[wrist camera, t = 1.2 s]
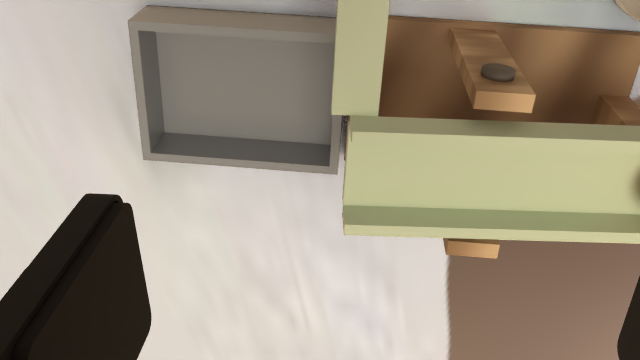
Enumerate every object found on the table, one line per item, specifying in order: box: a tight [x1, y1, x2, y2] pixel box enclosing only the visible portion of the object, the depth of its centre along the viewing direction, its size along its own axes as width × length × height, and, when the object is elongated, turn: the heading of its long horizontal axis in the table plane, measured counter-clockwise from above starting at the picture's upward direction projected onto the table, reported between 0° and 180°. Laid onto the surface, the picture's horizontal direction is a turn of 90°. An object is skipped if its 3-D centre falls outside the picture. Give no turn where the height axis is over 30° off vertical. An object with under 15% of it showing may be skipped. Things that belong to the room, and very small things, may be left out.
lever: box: [331, 0, 640, 244], centre depth 32 cm, size 22×16×4 cm
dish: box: [128, 5, 342, 175], centre depth 43 cm, size 10×14×4 cm
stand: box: [344, 15, 640, 258], centre depth 39 cm, size 20×11×12 cm, turn 87°
